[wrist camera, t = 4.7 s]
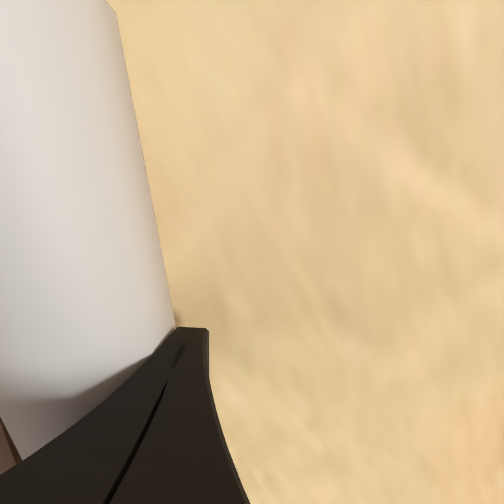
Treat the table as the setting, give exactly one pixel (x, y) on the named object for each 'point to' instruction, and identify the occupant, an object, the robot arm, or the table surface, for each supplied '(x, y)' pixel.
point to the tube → (71, 220)
